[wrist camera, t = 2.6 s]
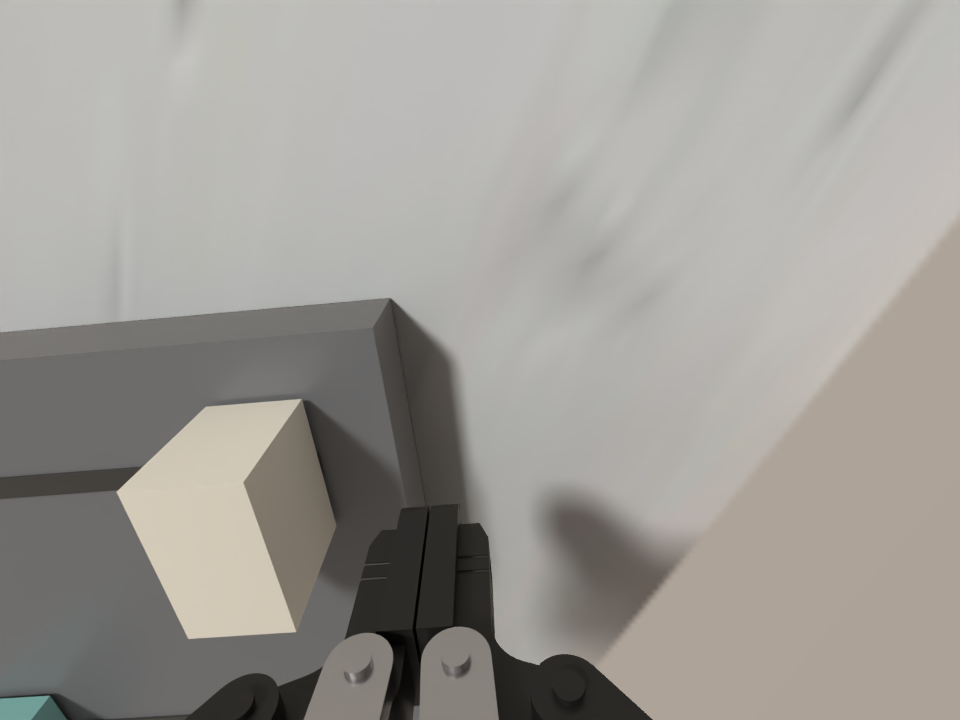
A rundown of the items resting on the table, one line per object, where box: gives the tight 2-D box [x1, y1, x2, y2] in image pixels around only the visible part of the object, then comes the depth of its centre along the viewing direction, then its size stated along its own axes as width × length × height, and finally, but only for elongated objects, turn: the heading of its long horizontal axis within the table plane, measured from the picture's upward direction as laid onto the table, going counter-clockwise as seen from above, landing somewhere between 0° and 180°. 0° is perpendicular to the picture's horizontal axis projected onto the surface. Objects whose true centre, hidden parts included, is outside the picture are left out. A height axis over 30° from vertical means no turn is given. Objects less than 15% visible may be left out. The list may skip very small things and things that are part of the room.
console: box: [0, 298, 426, 720], centre depth 20 cm, size 26×22×3 cm
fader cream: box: [117, 399, 336, 639], centre depth 14 cm, size 3×5×4 cm, turn 5°
